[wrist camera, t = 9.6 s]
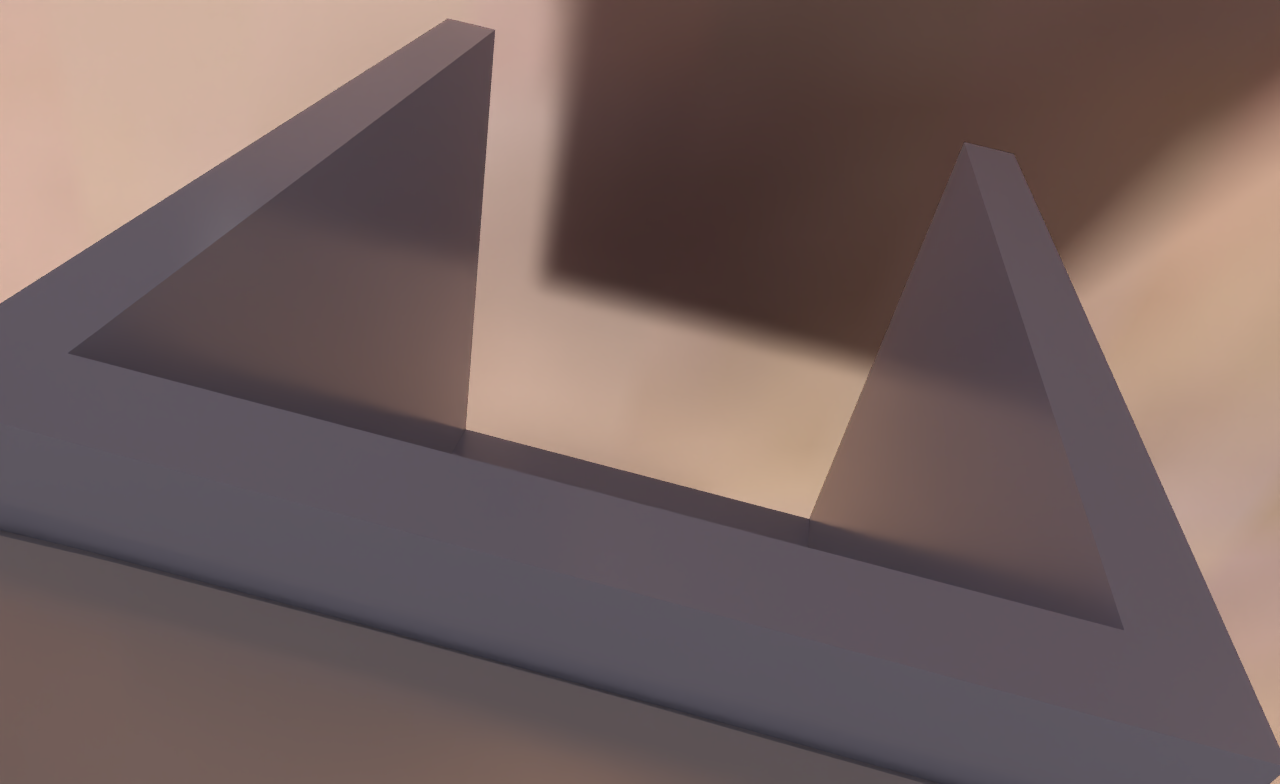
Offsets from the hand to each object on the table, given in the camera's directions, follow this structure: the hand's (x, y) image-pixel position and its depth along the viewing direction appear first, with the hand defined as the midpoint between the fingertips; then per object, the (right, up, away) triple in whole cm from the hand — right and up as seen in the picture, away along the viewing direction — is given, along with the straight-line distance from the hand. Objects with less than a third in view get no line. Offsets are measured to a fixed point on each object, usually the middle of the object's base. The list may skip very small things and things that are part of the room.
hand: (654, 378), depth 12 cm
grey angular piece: (0, +1, +1) cm, 1 cm away
